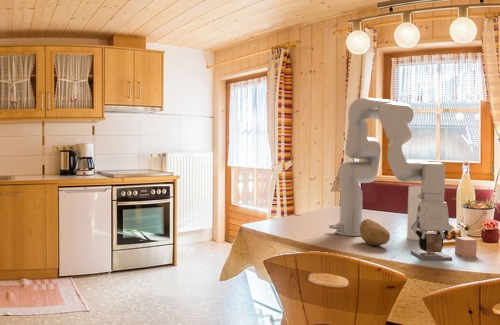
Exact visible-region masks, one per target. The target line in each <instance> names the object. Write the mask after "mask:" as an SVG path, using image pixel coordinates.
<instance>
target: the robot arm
mask: <svg viewBox="0 0 500 325" xmlns="http://www.w3.org/2000/svg"><path fill="white" fill-rule="evenodd" d="M347 117H348V125H347V126H348V128H347V135H346V140H345V149H344V152H345V156H347V157H348V158H349V159H353V161H345V162H343V163H341V164H340V166H339V168H338V170H337V171H338V181H339V192H340V194H339V201H340V202H339V203H340V204H339V206H340V207H339V221H337V223H335V224H334V223H330V224H329V223H328V229H330V230H331V229H332V230H335V233H336V234H338V235H341V236H348V237H358V236H359V237H361V234H360V225H361V222H362V221H363V197H364V196H363V190H362V188H361V186H360V184H367V183H368V184H369V183H372V182H374V181H375V180H376V178H377V176H378V173H379V166H380V158H381V149H382V148H381V147H382V146H381V144H380V142H379V139H376V138H375V137H370V136H369V135H368V134H369V123H368V121H367V119H370V120H379V121H380V123H381V126H382V128H383V130H384V133H385V135H386V137H387V139H388V142H389V144H388V148H387V161H388V162H387V163H388V166H389V167H390V170H391V172H392V174H393V176H394V177H395V179H397V180H398V181H400V182H405V183H408V182H410V183H411V182H416V183H417V182H421V185H420V187H421V194H418V198H420V199H421V201H419V204H418V208H417V215H416V221H415V223H414V224H413V225H412V226H411V227H410V228H411V230H413V231H414V232H415V233H416V234H417V235H418V237H419V240H418V246H419V248H420V249H419V250H426V239H425V235H426V232H435V233H438V234H440V235H442V249H441V251H442V250H443V248H444V239H445V238H446V236H447V235H448V234H449V233H450V232H452V231H453V229H454V228H453V226H452V225H451V224H450V223H449V222H450V221H449V220H450V218H449V208H448V204H447V201H445V191H446V190H445V188H446V184H445V182H446V166H445V165H446V164H444V163H443V162H432V161H431V162H430V161H424V160H407V158H405V155H404V152H403V149H402V148H403V147H402V146H403V145H405V144H406V143H408V142H409V141H410V140H411V138H412V136H413V134H412V131H411V130H410V127H409V124H411V122H412V121H413V120H414V117H415V116H414V110H413V109H412V107H411V106H410V105H409V104H407V103H403V102H399V101H394V100H390V99H385V98H384V99H383V98H373V97H360V98H357V99H355V100H353V101H352V102H351V104H350V105H349V108H348V116H347ZM354 159H356V161H355V160H354ZM357 160H361V161H357ZM417 228H419V229H420V230H419V231H418V230H417Z"/></svg>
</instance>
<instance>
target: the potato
mask: <svg viewBox="0 0 500 325" xmlns="http://www.w3.org/2000/svg"><path fill="white" fill-rule="evenodd" d="M360 234H361V236H360V237H361V239H362V240H363V242H365V243H366V244H368V245H369V246H382V245H386V244H387V243H388V242H389V241H390V239H391V238H390V237H391V235H390V232H389V231H388V230H387V228H385V227H383V226H382V225H381V224H380V223H378V222H376V221H374V220H372V219H368V218H367V219H362V222H361V225H360Z"/></svg>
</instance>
